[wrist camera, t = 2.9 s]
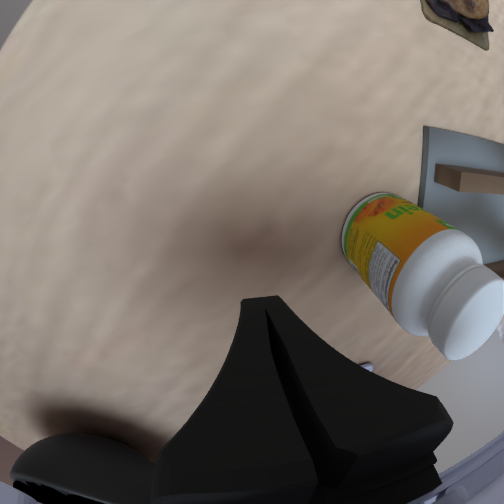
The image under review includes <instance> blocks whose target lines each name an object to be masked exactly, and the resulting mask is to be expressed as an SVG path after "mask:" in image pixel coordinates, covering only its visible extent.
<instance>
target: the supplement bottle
mask: <svg viewBox="0 0 504 504" xmlns="http://www.w3.org/2000/svg"><path fill="white" fill-rule="evenodd" d="M342 248H343V252H344V254H345V257H346V259H347V260H348V262H349V263H350V265H351V266H352V267H353V268H354V270H355V271H356V272H357V273H358V274H359V275H360V277H361V278H362V279H363V280H364V281H365V283H366V284H367V285H368V286H369V287H370V289H371V290H372V291H373V292H374V294H375V295H376V296H377V297H378V298H379V300H380V301H381V302H382V303H383V305H384V306H385V307H386V308H387V310H388V311H389V312H390V314H391V315H392V316H393V317H394V319H395V320H396V321H397V322H398V324H400V326H401V327H402V328H403V329H404V330H405V331H407V332H408V333H410V334H413V335H416V336H429V337H430V338H431V341H432V343H433V344H434V345H435V346H436V347H437V348H438V349H439V351H440V352H441V353H442V354H443V355H444V356H445V358H447V359H448V360H452V361H455V360H460V359H462V358H464V357H467V356H468V355H470V354H471V353H473V352H474V351H476V350H477V349H478V348H479V347H480V346H481V345H482V344H483V343H484V342H485V341H486V340H487V339H488V338H489V337H490V335H491V334H492V333H493V331H494V330H495V328H496V327H497V325H498V324H499V322H500V320H501V318H502V316H503V314H504V280H503V279H502V278H501V277H499V276H498V275H497V274H496V273H494V272H493V271H492V270H491V269H489V268H487V267H486V266H485V265H483V262H482V256H481V252H480V250H479V248H478V246H477V244H476V243H475V242H474V240H473V239H472V238H470V237H469V236H468V235H466V234H465V233H463V232H462V231H460V230H458V229H457V228H455V227H453V226H452V225H450V224H448V223H447V222H445V221H443V220H441V219H440V218H438V217H436V216H434V215H433V214H431V213H429V212H427V211H425V210H424V209H422V208H420V207H418V206H416V205H414V204H413V203H411V202H409V201H407V200H405V199H403V198H401V197H399V196H397V195H394V194H391V193H376V194H373V195H370V196H368V197H366V198H364V199H363V200H362V201H360V202H359V203H358V204H357V205H356V206H355V207H354V208H353V209H352V211H351V212H350V213H349V215H348V217H347V219H346V221H345V224H344V227H343V231H342Z"/></svg>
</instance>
